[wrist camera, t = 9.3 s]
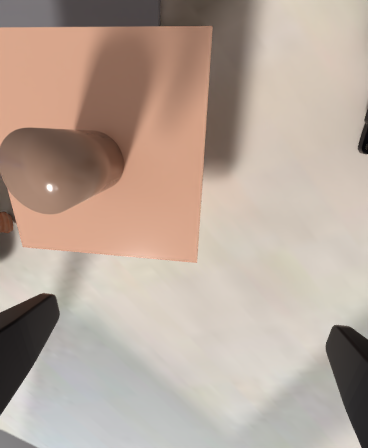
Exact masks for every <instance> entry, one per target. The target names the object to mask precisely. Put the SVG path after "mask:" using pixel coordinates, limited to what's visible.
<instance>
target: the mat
mask: <svg viewBox="0 0 368 448" xmlns="http://www.w3.org/2000/svg"><path fill="white" fill-rule="evenodd" d="M142 26H160V0H0V27H142Z"/></svg>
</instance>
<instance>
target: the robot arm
mask: <svg viewBox="0 0 368 448" xmlns="http://www.w3.org/2000/svg"><path fill="white" fill-rule="evenodd" d="M367 144H368V110H367V113H366V116H365V126H364V129H363V132H362V136H361V139H360V142H359V145H358V150H359V152H360V153H363V154H368V149H367V150H366V145H367ZM59 315H60V312H59V308H58V303H57V299H56V296H55V295H53V294H46V293H42V294H39V295H37V296H35V297H33V298H31V299H28V300H26V301H24V302H22V303H20V304H18V305H16V306H13V307H11V308H9V309H7V310H5V311H3V312H1V313H0V415H1V414H2V412H3V411H4V409H5V408H6V406H7V405H8V403H9V402H10V400H11V399H12V397H13V396H14V394H15V393H16V391H17V390H18V388H19V387H20V385H21V384H22V382H23V380H24V379H25V377H26V376H27V374H28V373H29V371H30V370H31V368H32V367H33V365H34V363H35V361H36V360H37V358H38V356H39V354H40V353H41V351H42V349H43V347H44V345H45V343H46V342H47V340H48V338H49V336H50V334H51V332H52V331H53V329H54V327H55V325H56V323H57V321H58V319H59ZM326 353H327V356H328V359H329V362H330V365H331V368H332V371H333V374H334V377H335V380H336V383H337V386H338V389H339V392H340V395H341V398H342V401H343V404H344V406H345V409H346V412H347V414H348V417H349V419H350V421H351V424H352V426H353V428H354V431H355V433H356V435H357V438H358V440H359V442H360V445H361V447H362V448H368V339H366V338H365V337H364V336H362V335H361V334H360V333H358V332H357V331H355V330H354V329H353V328H351V327H349V326H342V325H334V326H333V327H332V329H331V332H330V334H329V337H328V340H327V342H326Z"/></svg>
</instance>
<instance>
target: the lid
mask: <svg viewBox="0 0 368 448" xmlns="http://www.w3.org/2000/svg"><path fill="white" fill-rule="evenodd" d="M211 46H212V26H142V27H0V174H1V177H2V179H3V181H4V183H5V185H6V187H7V189H8V193H9V197H10V200H11V204H12V208H13V212H14V215H15V219H16V223H17V227H18V230H19V234H20V238H21V242H22V245H23V247H28V248H39V249H50V250H61V251H72V252H83V253H95V254H106V255H117V256H128V257H139V258H150V259H161V260H172V261H183V262H194V263H197V256H198V241H199V226H200V211H201V196H202V181H203V166H204V151H205V136H206V121H207V106H208V91H209V76H210V61H211Z"/></svg>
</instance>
